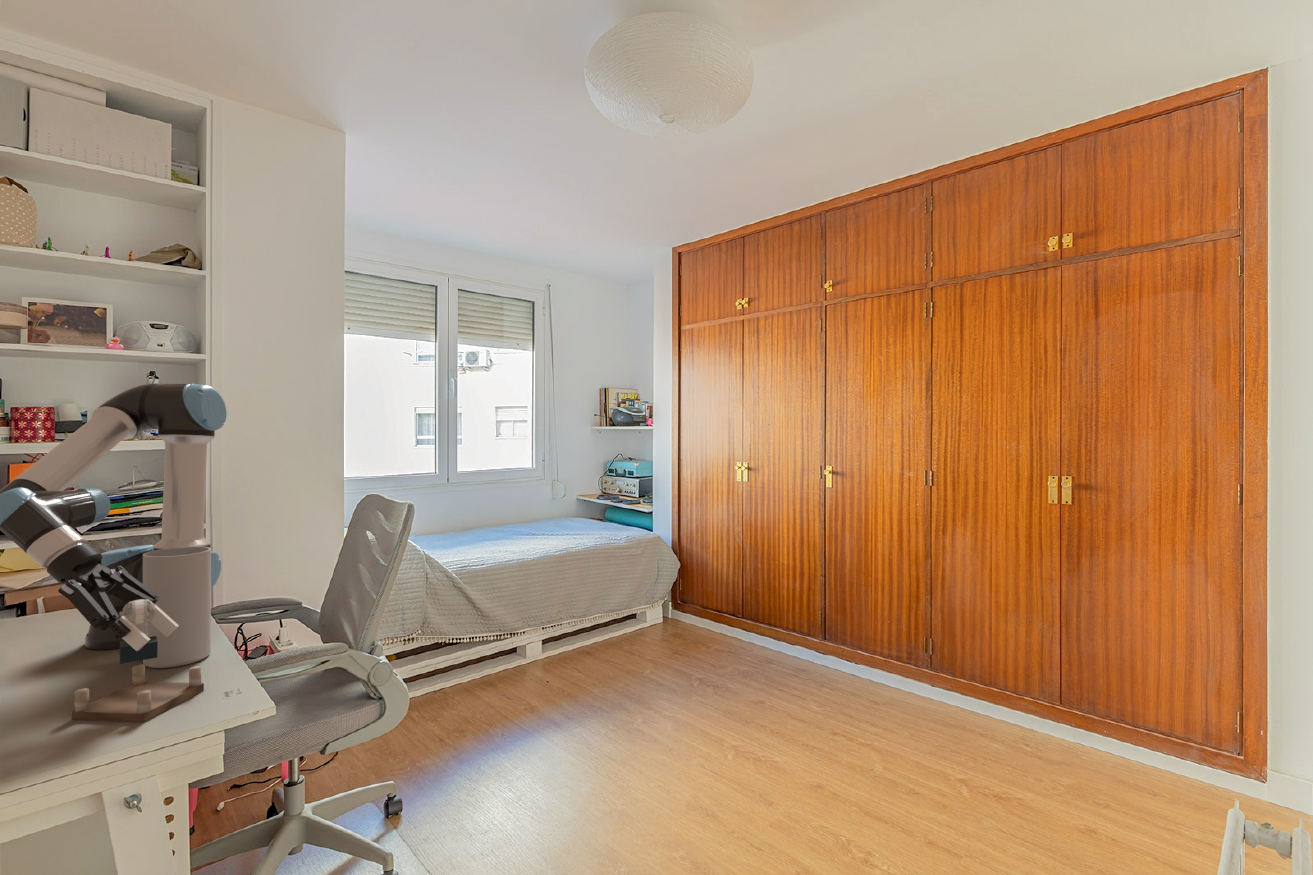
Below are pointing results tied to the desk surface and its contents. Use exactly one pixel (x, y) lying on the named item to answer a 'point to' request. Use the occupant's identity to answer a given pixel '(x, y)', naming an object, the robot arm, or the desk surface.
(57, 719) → the desk surface
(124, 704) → the peg base
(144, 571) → the cylinder vase
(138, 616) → the watch
